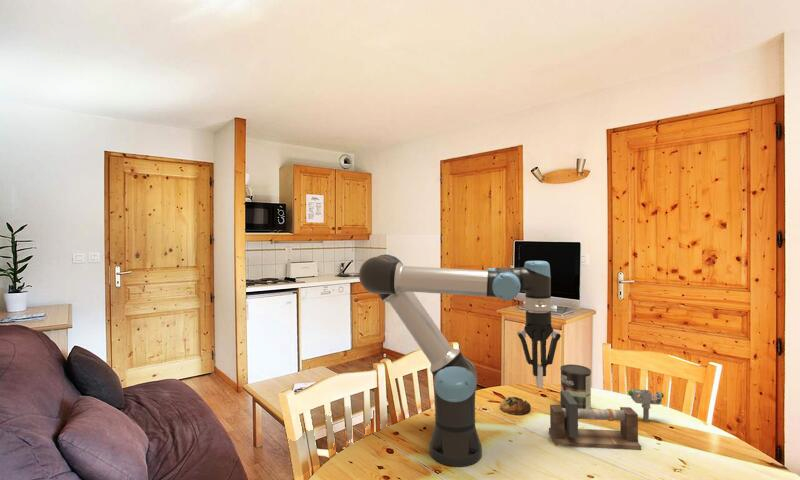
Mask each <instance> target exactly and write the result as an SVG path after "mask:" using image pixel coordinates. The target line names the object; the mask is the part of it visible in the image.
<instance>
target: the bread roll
mask: <svg viewBox="0 0 800 480" xmlns="http://www.w3.org/2000/svg"><path fill="white" fill-rule="evenodd" d="M531 407H532V406H531V404H530V403H529V402H528V401H527V399H526V400H523V398H520V397H518V396H508V397H505V398H504V399H503V400H502V401H501V402H500V405H499V408H500V410H502V412H504V413H507V414H510V415H526V414H528V413H530V412H531V410H532V408H531Z"/></svg>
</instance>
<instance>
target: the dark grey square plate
mask: <svg viewBox="0 0 800 480" xmlns="http://www.w3.org/2000/svg"><path fill="white" fill-rule="evenodd" d="M559 392H560V395H559V396H560V406H561V407H562V408H566V409H567V419H565V418H564V425H565V430H566V432H567V434H568V435H569V437H574V438H578V429H579V419H578V404H577V402H576V401H575V400H574V398H573V397H572V396H571V394H570V393H569V392H568V391H561V390H560V391H559Z"/></svg>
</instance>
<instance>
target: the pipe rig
mask: <svg viewBox="0 0 800 480" xmlns="http://www.w3.org/2000/svg"><path fill="white" fill-rule="evenodd" d="M619 408H620V409H612V408H606V409H605V408H603V409H601V408H591V409H578V420H591V421H592V420H593V421H594V420H595V421H597V420H598V421H608V422H614V421H619V422H620V424H619V425H620V430H617V429H615V430H614V429H592V428H590V429H589V428H578V438H574V437H569V435H568V434H567V432H566V430H565V425H564V418H565V419H567V409H566V408H562V407H561V404H549V411H550V412H549V414H550V417H549V419H550V421H549V422H550V427H548V432H549V435H550V436H551V439H552V441H553V442H554V445H555V446H556V447H573V448H576V447H577V448H593V447H594V448H595V449H597V448H598V449H617V450H638V451H639V450H640V451H641V450H642V445H641V443H639V414H638V412H636V411H635V410H634V409H633V408H632V407H629V406H627V407H626V406H620V407H619Z"/></svg>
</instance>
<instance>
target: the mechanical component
mask: <svg viewBox="0 0 800 480" xmlns="http://www.w3.org/2000/svg"><path fill="white" fill-rule="evenodd" d="M628 395H629V397H631V399H632V401H634V403H636V404H641V407H642V409H643V411H642V412H643V413H642V414H643V420H644V422H645V423H646V422H647V423H648V422H650V409H651V408H652V407H651V405H658V406H659V405H662V402H663V399H664V397H665V395H664V392H660V391H656V394H653V393H652V391H651V390H649V389H638V388H637V389H636V388H635V389H633V388H631V389H630V390H629V391H628Z"/></svg>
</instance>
